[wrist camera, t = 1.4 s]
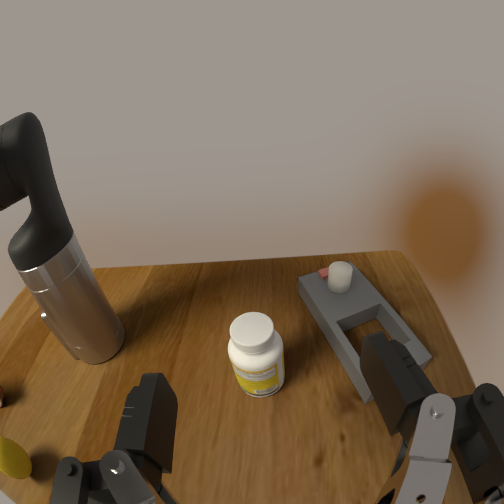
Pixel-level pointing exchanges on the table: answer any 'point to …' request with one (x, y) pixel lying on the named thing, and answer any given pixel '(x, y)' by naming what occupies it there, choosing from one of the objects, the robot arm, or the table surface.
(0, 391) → the tin
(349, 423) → the table surface
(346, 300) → the grey square-hole tray
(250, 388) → the supplement bottle
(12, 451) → the lemon
